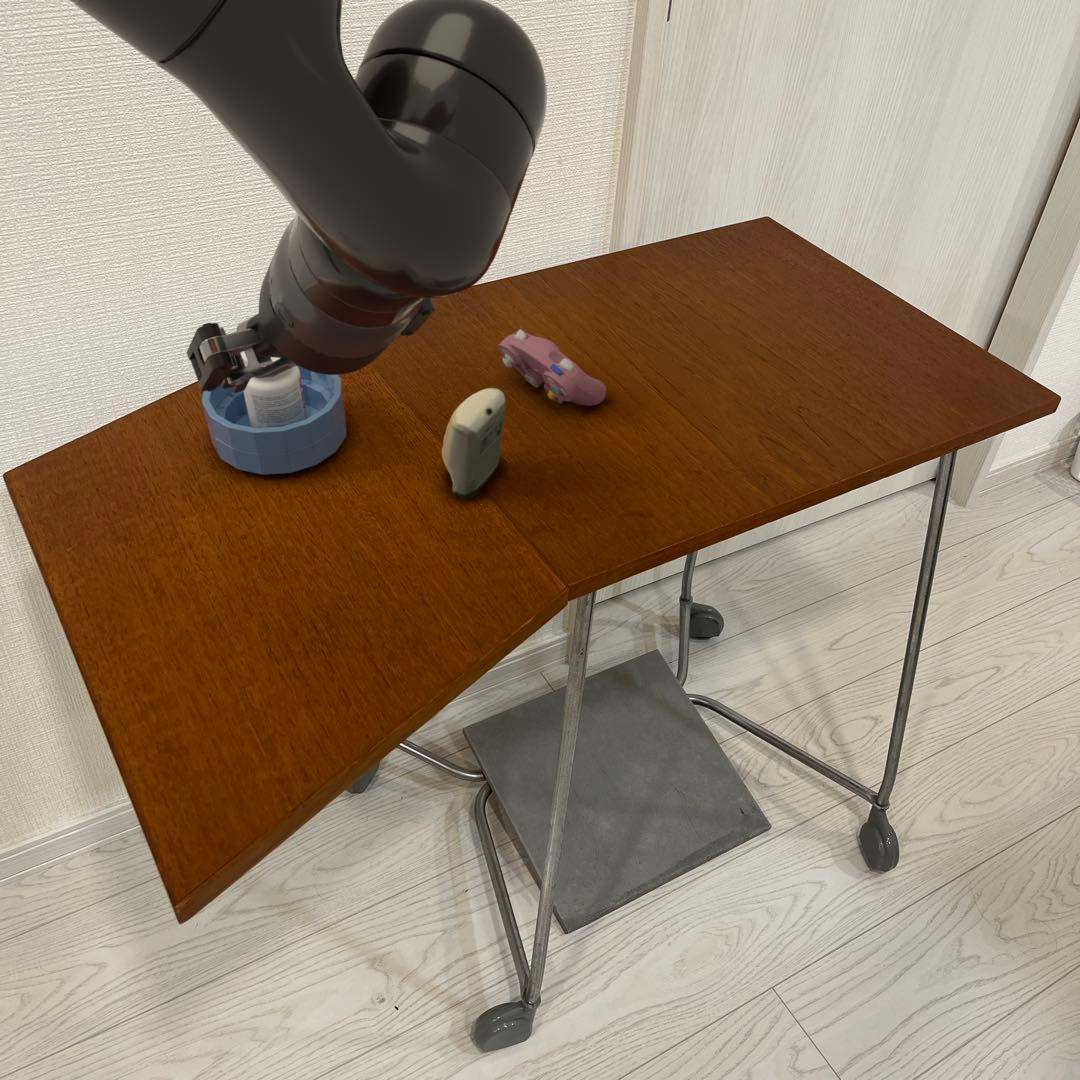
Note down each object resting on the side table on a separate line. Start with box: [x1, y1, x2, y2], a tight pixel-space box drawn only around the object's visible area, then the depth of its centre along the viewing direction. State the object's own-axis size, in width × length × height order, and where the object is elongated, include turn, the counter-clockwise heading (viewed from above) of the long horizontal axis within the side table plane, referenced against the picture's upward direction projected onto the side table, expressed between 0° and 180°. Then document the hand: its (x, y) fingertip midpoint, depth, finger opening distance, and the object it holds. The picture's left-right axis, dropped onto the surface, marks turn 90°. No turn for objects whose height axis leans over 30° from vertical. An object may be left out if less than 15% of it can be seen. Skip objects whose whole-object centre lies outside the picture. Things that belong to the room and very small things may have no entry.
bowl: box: [201, 366, 347, 476], centre depth 86 cm, size 11×11×5 cm
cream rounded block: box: [441, 387, 507, 500], centre depth 81 cm, size 6×5×8 cm
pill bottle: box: [241, 351, 307, 428], centre depth 84 cm, size 5×5×8 cm
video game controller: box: [497, 329, 607, 407], centre depth 91 cm, size 10×5×7 cm, turn 43°
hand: (294, 360), depth 68 cm, fingers open, 8 cm apart
